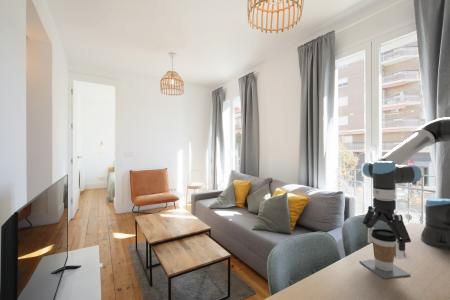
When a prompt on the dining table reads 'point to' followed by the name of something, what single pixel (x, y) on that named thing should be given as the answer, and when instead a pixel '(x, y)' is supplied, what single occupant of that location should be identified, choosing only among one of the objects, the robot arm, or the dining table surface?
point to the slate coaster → (385, 274)
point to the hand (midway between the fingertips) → (384, 249)
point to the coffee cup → (383, 248)
